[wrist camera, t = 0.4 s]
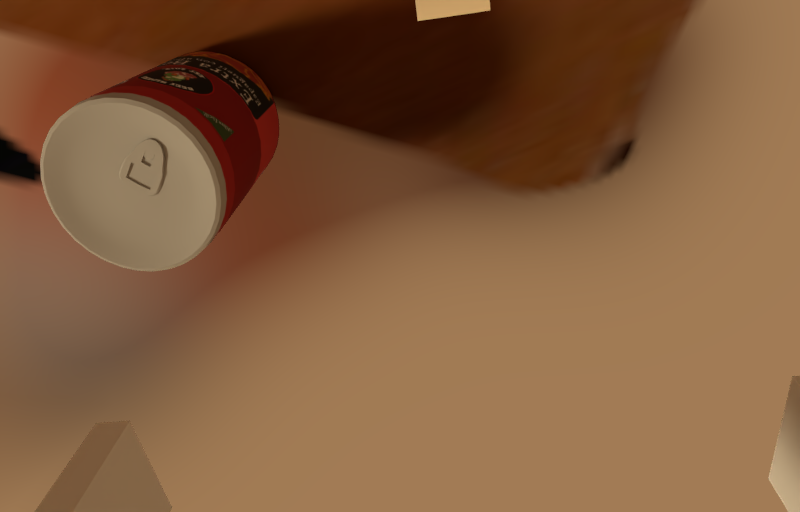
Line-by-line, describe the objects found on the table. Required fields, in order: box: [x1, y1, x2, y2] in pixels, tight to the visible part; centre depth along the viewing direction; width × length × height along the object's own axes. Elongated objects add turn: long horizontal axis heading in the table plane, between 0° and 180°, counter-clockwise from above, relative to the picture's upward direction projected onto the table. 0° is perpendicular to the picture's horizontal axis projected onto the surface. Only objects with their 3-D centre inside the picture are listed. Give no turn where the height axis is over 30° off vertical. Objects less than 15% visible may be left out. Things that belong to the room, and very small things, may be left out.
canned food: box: [40, 51, 279, 271], centre depth 29 cm, size 8×8×11 cm
